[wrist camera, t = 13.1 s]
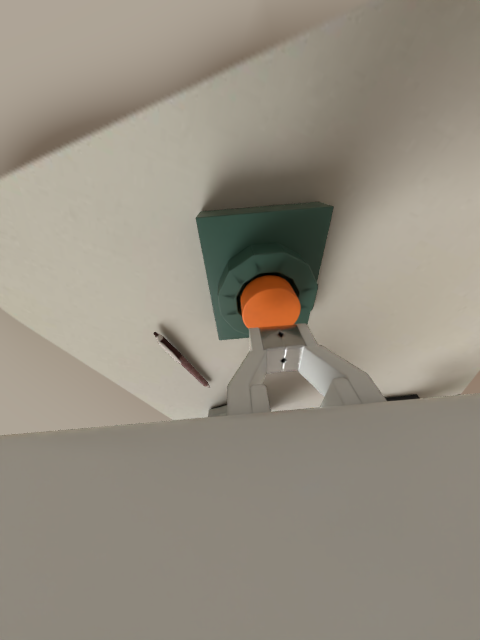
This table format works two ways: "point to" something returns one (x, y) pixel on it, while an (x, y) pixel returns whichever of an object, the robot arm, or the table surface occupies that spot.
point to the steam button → (269, 303)
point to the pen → (179, 358)
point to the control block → (261, 255)
